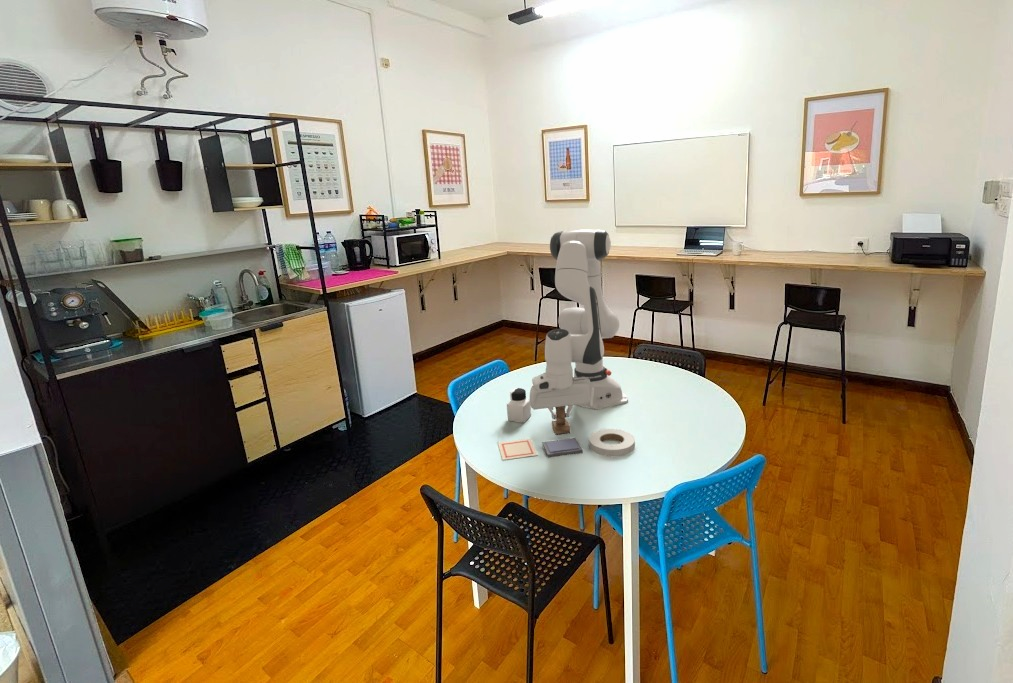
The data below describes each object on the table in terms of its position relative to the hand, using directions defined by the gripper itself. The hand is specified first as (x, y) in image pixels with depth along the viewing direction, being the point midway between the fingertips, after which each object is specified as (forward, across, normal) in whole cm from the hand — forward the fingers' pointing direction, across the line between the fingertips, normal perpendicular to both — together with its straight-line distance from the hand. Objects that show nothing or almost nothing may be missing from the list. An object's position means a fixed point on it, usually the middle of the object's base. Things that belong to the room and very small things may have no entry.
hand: (560, 417), depth 172 cm
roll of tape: (+12, -17, +2) cm, 21 cm away
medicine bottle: (+12, +10, -28) cm, 32 cm away
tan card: (+12, +15, -4) cm, 20 cm away
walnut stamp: (+5, 0, 0) cm, 5 cm away
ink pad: (+12, 0, 0) cm, 12 cm away
